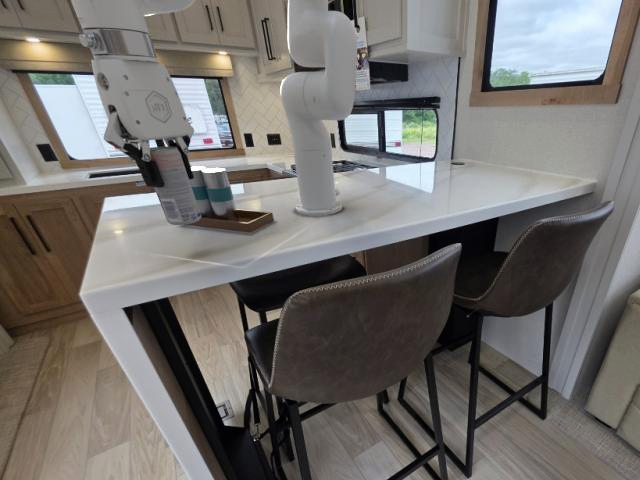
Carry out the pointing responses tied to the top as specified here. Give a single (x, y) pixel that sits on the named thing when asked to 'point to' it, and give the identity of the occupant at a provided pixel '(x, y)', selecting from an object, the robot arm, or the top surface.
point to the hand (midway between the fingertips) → (171, 181)
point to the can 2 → (220, 194)
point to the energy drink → (175, 187)
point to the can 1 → (201, 193)
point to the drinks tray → (246, 221)
